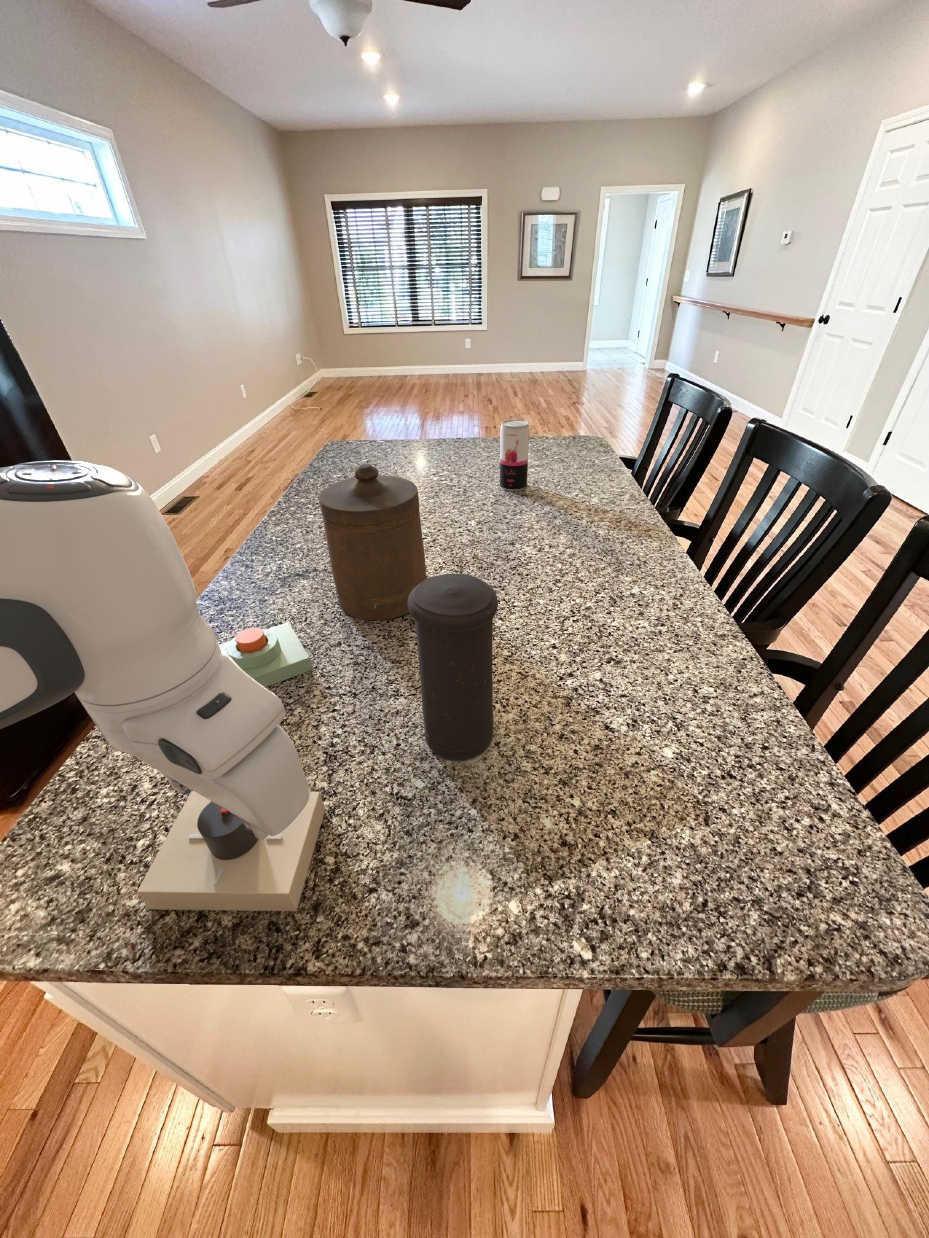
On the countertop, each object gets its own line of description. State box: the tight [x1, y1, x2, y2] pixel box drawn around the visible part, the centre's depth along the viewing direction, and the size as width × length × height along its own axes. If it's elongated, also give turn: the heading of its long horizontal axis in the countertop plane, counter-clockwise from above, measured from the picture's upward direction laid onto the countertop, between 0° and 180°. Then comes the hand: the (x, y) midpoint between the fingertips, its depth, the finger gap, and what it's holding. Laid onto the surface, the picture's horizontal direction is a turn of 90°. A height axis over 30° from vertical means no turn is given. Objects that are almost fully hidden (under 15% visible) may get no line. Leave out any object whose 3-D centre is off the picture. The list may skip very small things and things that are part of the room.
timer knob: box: [197, 801, 258, 860], centre depth 46 cm, size 4×4×4 cm
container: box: [408, 573, 499, 762], centre depth 55 cm, size 9×9×20 cm
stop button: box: [234, 627, 267, 653], centre depth 69 cm, size 4×4×2 cm
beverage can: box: [499, 418, 530, 492], centre depth 121 cm, size 6×6×15 cm
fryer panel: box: [136, 790, 326, 912], centre depth 48 cm, size 13×10×3 cm
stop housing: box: [219, 621, 313, 688], centre depth 71 cm, size 12×10×4 cm
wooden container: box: [318, 463, 428, 621], centre depth 79 cm, size 15×15×22 cm
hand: (224, 807), depth 45 cm, fingers open, 8 cm apart
